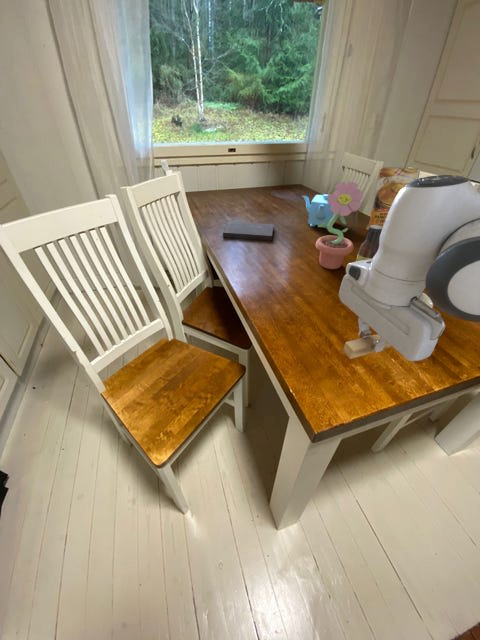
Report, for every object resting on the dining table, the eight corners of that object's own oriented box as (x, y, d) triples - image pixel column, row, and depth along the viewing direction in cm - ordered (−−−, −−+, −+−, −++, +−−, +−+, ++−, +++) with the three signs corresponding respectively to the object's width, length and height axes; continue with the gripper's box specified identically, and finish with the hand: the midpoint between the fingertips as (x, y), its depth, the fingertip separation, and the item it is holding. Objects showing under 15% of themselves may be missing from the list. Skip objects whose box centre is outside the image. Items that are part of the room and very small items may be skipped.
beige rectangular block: (382, 339, 57) (386, 331, 56) (391, 347, 56) (395, 338, 54) (342, 351, 55) (345, 342, 53) (350, 359, 53) (353, 350, 51)
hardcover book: (229, 225, 141) (229, 221, 140) (273, 228, 139) (273, 224, 137) (223, 237, 129) (222, 232, 128) (271, 241, 126) (271, 236, 125)
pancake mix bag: (360, 226, 142) (378, 166, 125) (398, 228, 141) (421, 167, 124) (363, 231, 137) (382, 169, 120) (403, 233, 136) (427, 170, 118)
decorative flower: (304, 267, 107) (319, 184, 88) (314, 254, 116) (329, 176, 97) (343, 276, 101) (368, 190, 82) (350, 261, 111) (374, 181, 92)
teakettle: (324, 217, 154) (330, 188, 145) (346, 228, 140) (354, 198, 131) (295, 221, 148) (299, 192, 139) (316, 233, 135) (321, 202, 125)
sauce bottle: (371, 286, 96) (391, 231, 84) (353, 286, 96) (370, 230, 84) (364, 277, 101) (382, 223, 89) (347, 276, 101) (363, 223, 89)
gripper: (466, 314, 39) (424, 378, 47) (368, 255, 54) (350, 311, 62) (432, 324, 37) (396, 387, 46) (341, 260, 52) (327, 317, 61)
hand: (369, 343), depth 54 cm, fingers closed on beige rectangular block, 2 cm apart
